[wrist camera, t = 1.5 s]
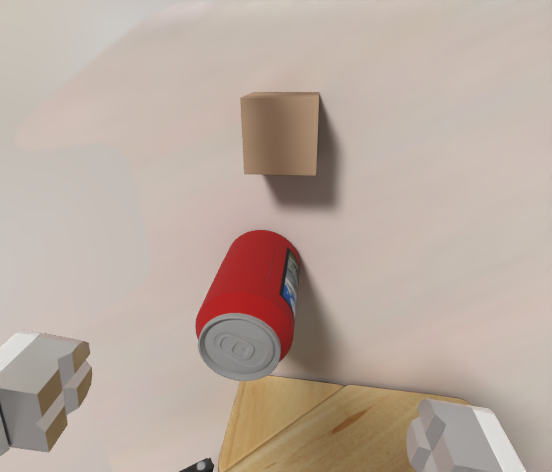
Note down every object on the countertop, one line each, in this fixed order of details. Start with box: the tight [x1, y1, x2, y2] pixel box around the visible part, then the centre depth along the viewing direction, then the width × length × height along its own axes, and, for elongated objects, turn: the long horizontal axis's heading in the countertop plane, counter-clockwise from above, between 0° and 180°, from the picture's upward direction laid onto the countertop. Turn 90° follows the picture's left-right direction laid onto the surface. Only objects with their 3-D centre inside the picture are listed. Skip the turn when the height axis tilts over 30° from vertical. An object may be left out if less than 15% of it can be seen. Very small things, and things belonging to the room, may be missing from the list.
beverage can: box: [196, 230, 300, 381], centre depth 28 cm, size 7×7×12 cm
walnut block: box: [241, 92, 319, 176], centre depth 26 cm, size 5×5×5 cm
